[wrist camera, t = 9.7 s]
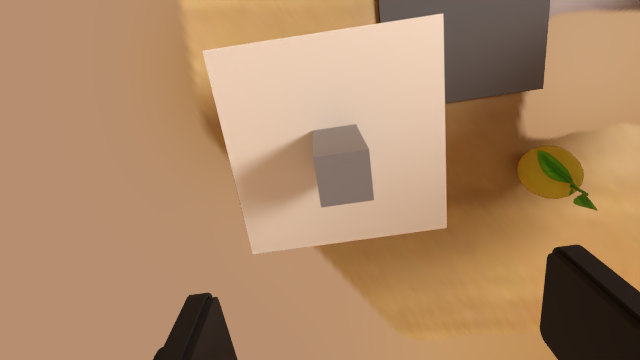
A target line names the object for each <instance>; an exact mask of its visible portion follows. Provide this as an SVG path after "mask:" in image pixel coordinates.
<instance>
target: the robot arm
mask: <svg viewBox="0 0 640 360" xmlns="http://www.w3.org/2000/svg"><path fill="white" fill-rule="evenodd" d="M540 332H541V335H542V337H543V340H544V341H545V343H546V344H547V346H548V347H549V348H550V349H551V351H552V352H553V354H554V355H555V356H556V358H557V359H558V360H640V292H639V291H638V290H637V289H635V288H634V287H633V286H631V285H630V284H629V283H628V282H626V281H625V280H624V279H623V278H621V277H620V276H619V275H618V274H616V273H615V272H614V271H613V270H611V269H610V268H609V267H608V266H606V265H605V264H604V263H602V262H601V261H600V260H599V259H597V258H596V257H595V256H594V255H592V254H591V253H590V252H589V251H587V250H586V249H585V248H584V247H582V246H580V245H570V246H562V247H556V248H554V250H553V252H552V253H551V254H549V255H548V257H547V264H546V274H545V283H544V293H543V303H542V312H541V322H540ZM153 360H237V357H236V354H235V350H234V347H233V344H232V341H231V338H230V335H229V331H228V328H227V325H226V322H225V319H224V315H223V312H222V309H221V306H220V302H219V300H218V298H217V297H212V295H211V294H210V293H203V294H195V295H189V296H188V297H187V299H186V301H185V303H184V306H183V307H182V309H181V312H180V314H179V316H178V318H177V320H176V322H175V324H174V326H173V328H172V330H171V332H170V335H169V337H168V339H167V341H166V343H165V345H164V347H162V348H160V349H159V350H158V352H157V353H156V355H155V356H154V359H153Z"/></svg>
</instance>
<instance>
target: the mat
mask: <svg viewBox="0 0 640 360" xmlns="http://www.w3.org/2000/svg"><path fill="white" fill-rule="evenodd" d="M378 4H379V17H380V23H384V22H391V21H397V20H404V19H410V18H417V17H423V16H430V15H436V14H443V18H444V78H445V103H449V102H456V101H463V100H469V99H476V98H483V97H490V96H496V95H503V94H510V93H516V92H523V91H530V90H536V89H543V82H544V70H545V57H546V44H547V33H548V21H549V8H550V0H378Z"/></svg>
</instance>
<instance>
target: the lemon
mask: <svg viewBox="0 0 640 360" xmlns="http://www.w3.org/2000/svg"><path fill="white" fill-rule="evenodd" d="M517 171H518V177H519V179H520V181H521V183H522V184H523V185H524V186H525V187H526V188H527V189H528V190H529V191H531V192H532V193H534V194H536V195H539V196H542V197H545V198H553V199H559V198H563V197H567V196H569V195H571V194H573V193H574V192H576V191H579V192H581V193H582V195H580V196H578V197H577V198H575V199H574V201H573V202H574V204H576V205H579V206H582V207H586V208H590V209H594V210H597V209H596V207H595V206H594V205H593V203H592V202H591V201H590V200H589V199H588V197H587V196H588V193H586V192H585V191H583V190H581V189H579V187H580V186H581V184H582V181H583V176H584V172H583V169H582V167H581V164H580V162H579V161H578V160H577V159H576V158H575V157H574V156H573V155H572V154H571V153H570V152H568V151H566V150H564V149H562V148H559V147H556V146H541V147H537V148H534V149H532V150H530V151H528V152H527V153H526V154H524V155H523V156H522V158H521V159H520V161H519V163H518V167H517Z"/></svg>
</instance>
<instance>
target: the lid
mask: <svg viewBox="0 0 640 360" xmlns="http://www.w3.org/2000/svg"><path fill="white" fill-rule="evenodd" d="M202 52H203V56H204V60H205V64H206V68H207V72H208V76H209V80H210V84H211V88H212V92H213V96H214V100H215V104H216V108H217V112H218V116H219V120H220V124H221V128H222V132H223V136H224V140H225V144H226V148H227V152H228V156H229V161H230V165H231V168H232V172H233V176H234V181H235V184H236V188H237V193H238V197H239V201H240V205H241V209H242V213H243V217H244V221H245V225H246V229H247V233H248V237H249V240H250V245H251V249H252V253H253V254H261V253H268V252H275V251H283V250H290V249H297V248H304V247H312V246H319V245H326V244H334V243H341V242H348V241H355V240H363V239H370V238H377V237H384V236H392V235H399V234H406V233H414V232H421V231H428V230H435V229H443V228H447V199H446V138H445V78H444V18H443V14H436V15H430V16H423V17H417V18H410V19H404V20H397V21H391V22H384V23H378V24H371V25H365V26H359V27H352V28H346V29H339V30H333V31H326V32H320V33H313V34H307V35H300V36H294V37H287V38H281V39H274V40H268V41H261V42H255V43H248V44H242V45H236V46H229V47H223V48H216V49H210V50H203V51H202Z"/></svg>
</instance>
